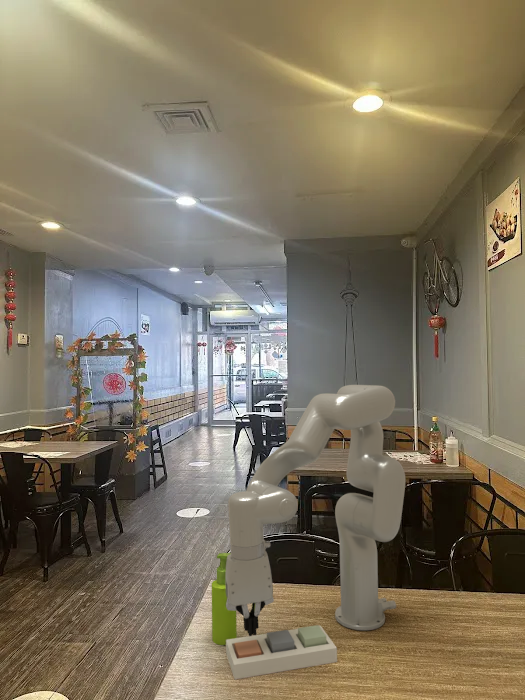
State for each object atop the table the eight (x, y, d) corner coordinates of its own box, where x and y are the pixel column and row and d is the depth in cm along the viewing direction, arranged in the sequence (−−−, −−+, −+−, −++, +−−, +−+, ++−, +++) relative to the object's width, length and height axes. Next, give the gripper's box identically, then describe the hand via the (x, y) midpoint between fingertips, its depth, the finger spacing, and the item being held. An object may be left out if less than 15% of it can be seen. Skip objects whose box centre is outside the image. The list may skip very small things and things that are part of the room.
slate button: (287, 638, 114) (287, 629, 114) (294, 650, 109) (294, 641, 110) (266, 641, 113) (266, 632, 113) (272, 653, 108) (272, 644, 108)
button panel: (320, 638, 119) (320, 625, 119) (337, 661, 109) (336, 647, 109) (226, 653, 113) (225, 639, 113) (234, 679, 103) (234, 664, 104)
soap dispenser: (237, 646, 116) (236, 559, 116) (209, 644, 117) (208, 557, 118) (243, 633, 121) (242, 550, 122) (216, 631, 123) (215, 549, 124)
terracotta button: (256, 648, 112) (256, 639, 112) (261, 661, 108) (261, 651, 108) (234, 652, 111) (234, 643, 111) (238, 664, 106) (238, 655, 106)
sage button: (318, 633, 116) (318, 625, 116) (326, 645, 111) (326, 636, 111) (298, 636, 115) (297, 628, 115) (305, 648, 110) (305, 639, 110)
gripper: (275, 539, 116) (279, 618, 116) (211, 548, 112) (215, 629, 112) (284, 550, 109) (288, 635, 108) (216, 561, 105) (221, 648, 105)
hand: (251, 632), depth 110 cm, fingers closed
